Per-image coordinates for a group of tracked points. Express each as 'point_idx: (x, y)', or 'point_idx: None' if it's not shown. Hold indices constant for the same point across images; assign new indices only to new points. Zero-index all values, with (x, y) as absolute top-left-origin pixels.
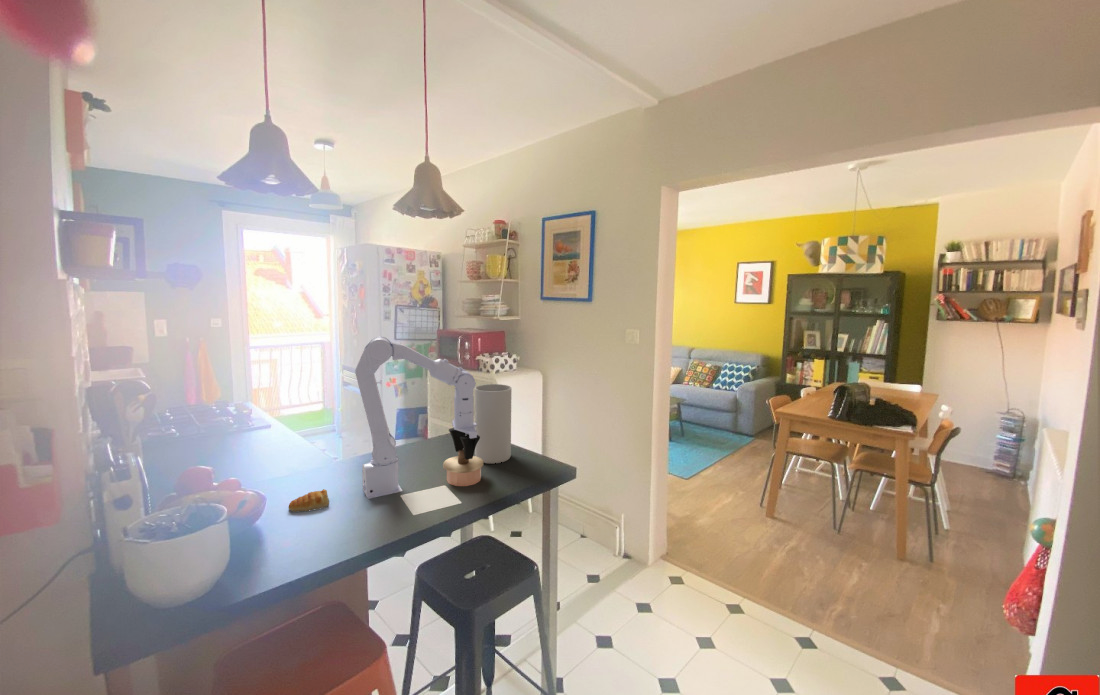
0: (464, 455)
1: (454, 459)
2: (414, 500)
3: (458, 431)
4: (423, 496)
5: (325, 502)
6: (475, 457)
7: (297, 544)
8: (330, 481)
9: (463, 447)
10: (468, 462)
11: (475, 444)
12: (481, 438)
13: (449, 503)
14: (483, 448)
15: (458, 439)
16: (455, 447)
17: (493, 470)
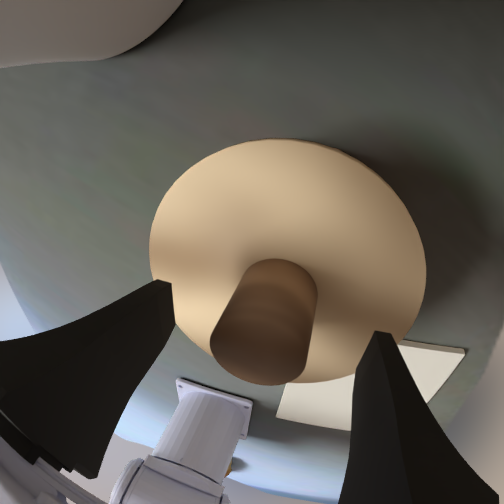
0: (354, 399)
1: (196, 298)
2: (332, 415)
3: (73, 445)
4: (329, 398)
5: (229, 465)
6: (238, 166)
7: (320, 489)
8: (126, 410)
9: (350, 468)
10: (309, 276)
11: (445, 453)
12: (26, 37)
13: (432, 377)
14: (93, 26)
15: (116, 383)
16: (158, 354)
17: (271, 24)
